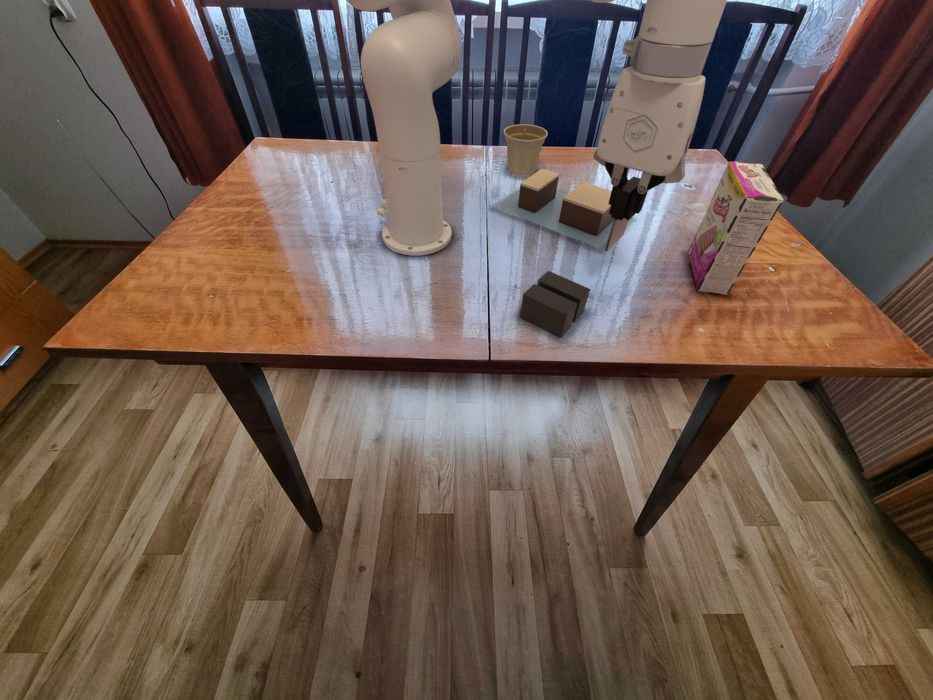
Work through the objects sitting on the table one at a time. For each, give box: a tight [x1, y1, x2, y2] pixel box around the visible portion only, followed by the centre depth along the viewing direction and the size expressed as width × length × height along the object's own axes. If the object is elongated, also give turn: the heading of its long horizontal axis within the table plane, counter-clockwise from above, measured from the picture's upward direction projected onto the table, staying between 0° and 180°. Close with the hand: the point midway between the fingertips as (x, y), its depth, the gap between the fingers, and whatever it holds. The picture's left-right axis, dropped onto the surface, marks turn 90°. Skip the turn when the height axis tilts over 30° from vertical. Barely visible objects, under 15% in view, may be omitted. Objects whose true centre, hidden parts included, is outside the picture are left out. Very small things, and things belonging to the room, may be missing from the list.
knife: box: [604, 176, 641, 252], centre depth 60 cm, size 6×2×9 cm, turn 142°
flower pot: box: [503, 123, 549, 177], centre depth 92 cm, size 9×9×9 cm
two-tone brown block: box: [518, 168, 560, 213], centre depth 83 cm, size 4×8×5 cm, turn 142°
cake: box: [559, 181, 615, 236], centre depth 78 cm, size 8×8×5 cm
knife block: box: [519, 270, 591, 339], centre depth 61 cm, size 7×7×4 cm
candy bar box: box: [687, 160, 785, 296], centre depth 64 cm, size 11×5×16 cm, turn 168°
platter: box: [493, 189, 613, 249], centre depth 83 cm, size 23×14×1 cm, turn 52°
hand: (623, 212), depth 59 cm, fingers closed on knife, 1 cm apart
